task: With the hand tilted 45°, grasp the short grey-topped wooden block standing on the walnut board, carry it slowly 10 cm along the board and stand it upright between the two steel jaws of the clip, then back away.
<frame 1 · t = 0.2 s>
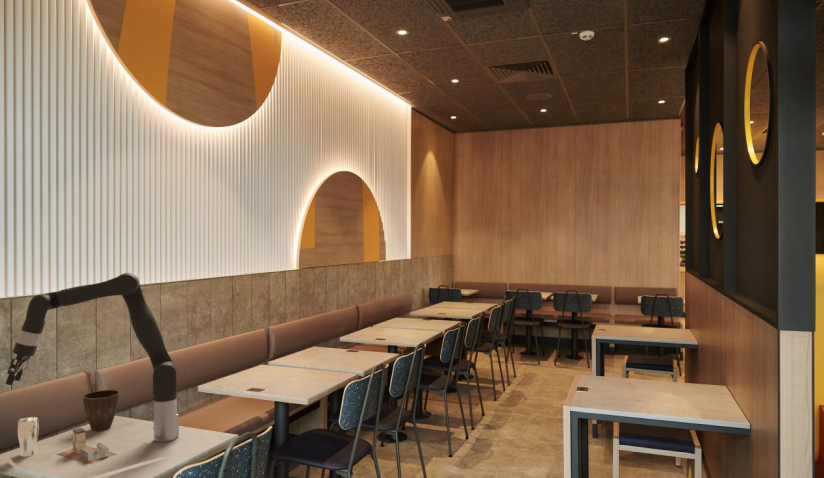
hand: (12, 382, 219), 30 cm above the table, tool tilted 20°, fingers open, 8 cm apart
clip: (94, 456, 217), resting on board
board: (86, 457, 220), on the table
grey-topped wooden block: (79, 452, 222), point 1 cm above the table, touching board
beer glass: (28, 457, 221), on the table
plant pot: (101, 429, 253), on the table
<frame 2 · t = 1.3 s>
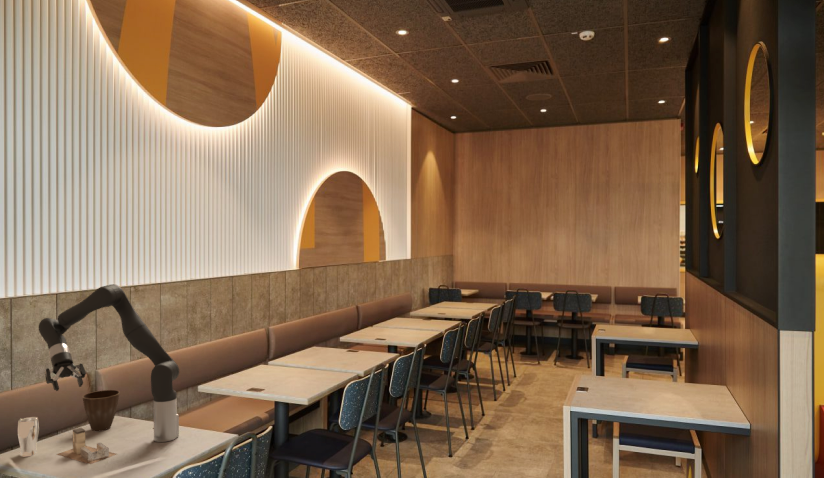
hand: (69, 387, 230), 25 cm above the table, tool tilted 45°, fingers open, 8 cm apart
nothing on the table moved.
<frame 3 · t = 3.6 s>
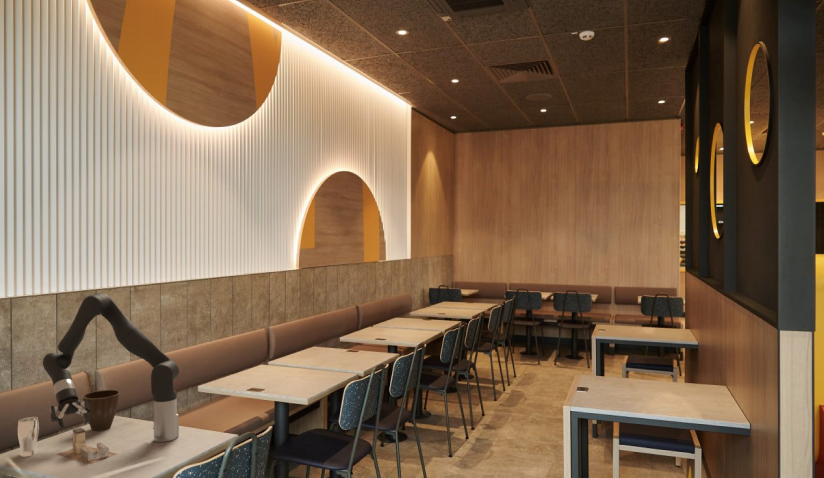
hand: (74, 425, 226), 11 cm above the table, tool tilted 45°, fingers open, 8 cm apart
nothing on the table moved.
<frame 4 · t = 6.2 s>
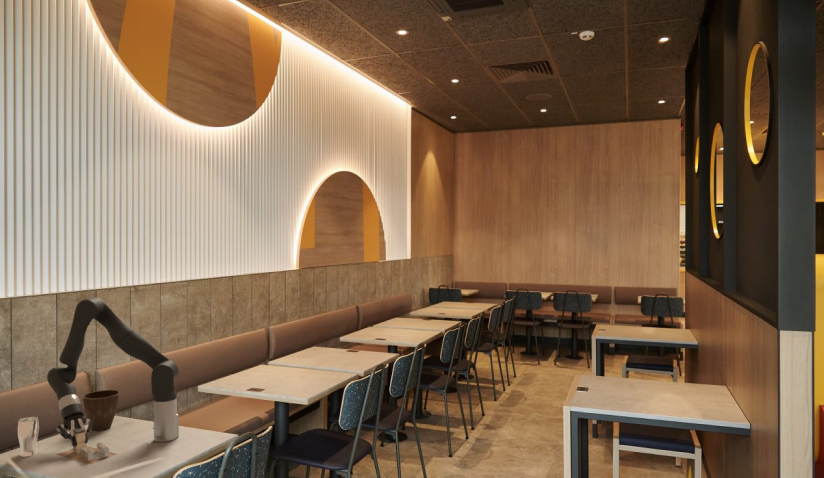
hand: (80, 444, 221), 5 cm above the table, tool tilted 45°, fingers closed on grey-topped wooden block, 3 cm apart
grey-topped wooden block: (79, 452, 222), point 1 cm above the table, touching board, gripper
everything else where it was.
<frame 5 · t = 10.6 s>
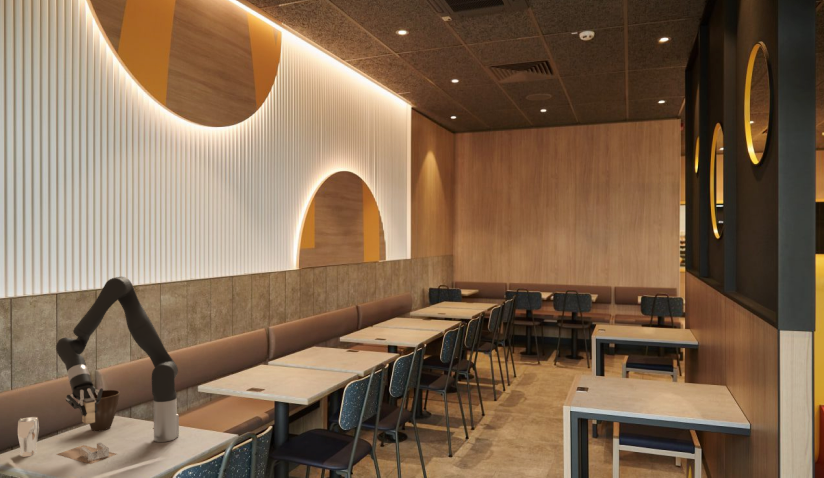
hand: (90, 413, 218), 18 cm above the table, tool tilted 45°, fingers closed on grey-topped wooden block, 3 cm apart
grey-topped wooden block: (88, 421, 219), point 14 cm above the table, touching gripper
everything else where it was.
when the fingers open (6 cm above the table, at t = 15.0 s): grey-topped wooden block drops 1 cm, resting on clip.
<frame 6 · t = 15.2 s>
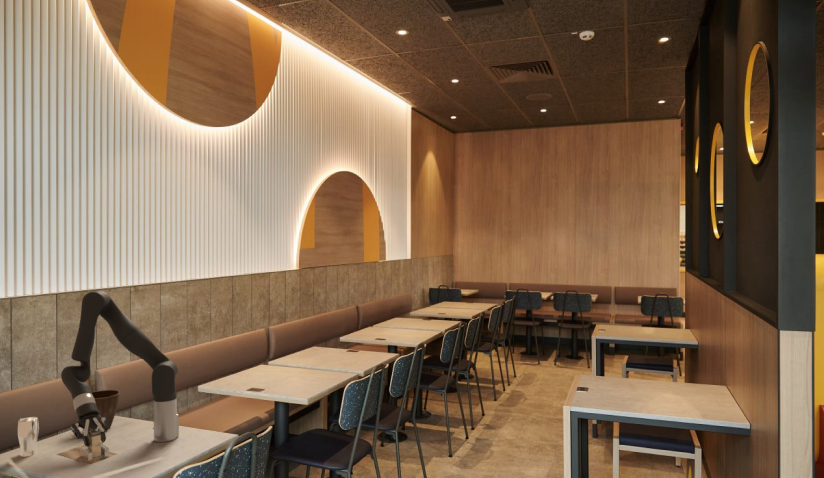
hand: (96, 443, 216), 7 cm above the table, tool tilted 45°, fingers open, 4 cm apart
grey-topped wooden block: (94, 455, 217), point 2 cm above the table, touching clip
everything else where it was.
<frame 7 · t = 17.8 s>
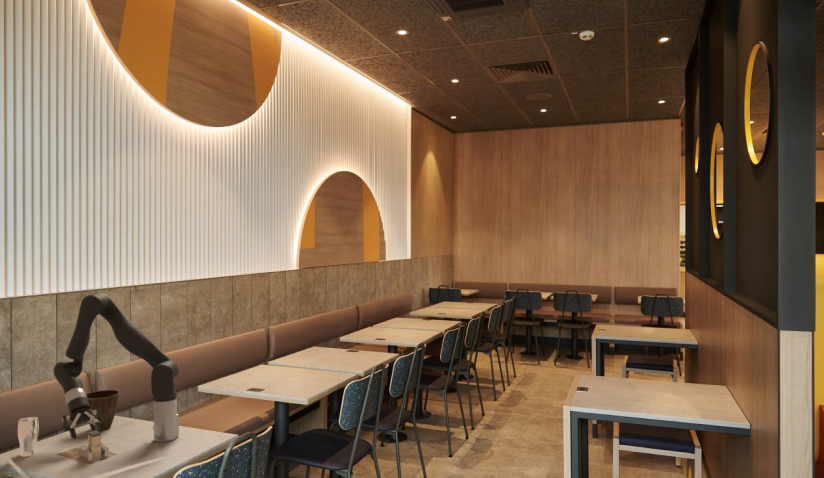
hand: (86, 434, 223), 8 cm above the table, tool tilted 45°, fingers open, 8 cm apart
nothing on the table moved.
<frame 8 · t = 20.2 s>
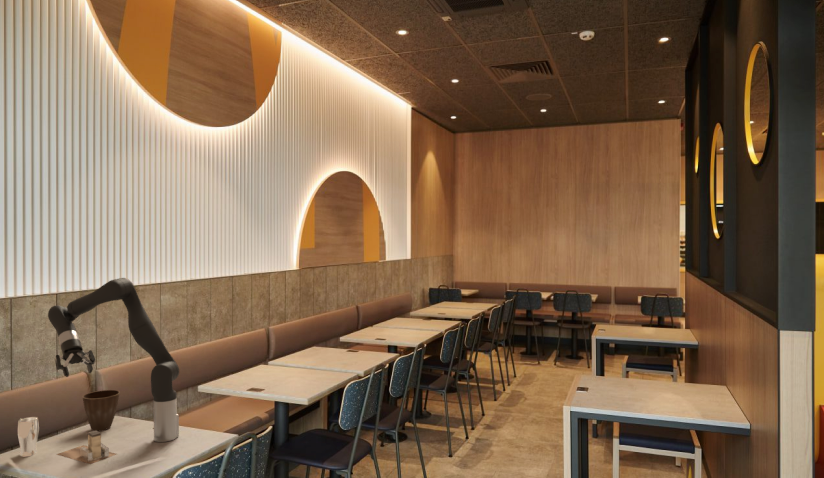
hand: (79, 373, 231), 31 cm above the table, tool tilted 45°, fingers open, 8 cm apart
nothing on the table moved.
at the end: grey-topped wooden block inside the target area on the clip (0.1 cm from its centre), point 0.3 cm above the clip's base; grey-topped wooden block tilted 0°; the gripper is holding nothing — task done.
